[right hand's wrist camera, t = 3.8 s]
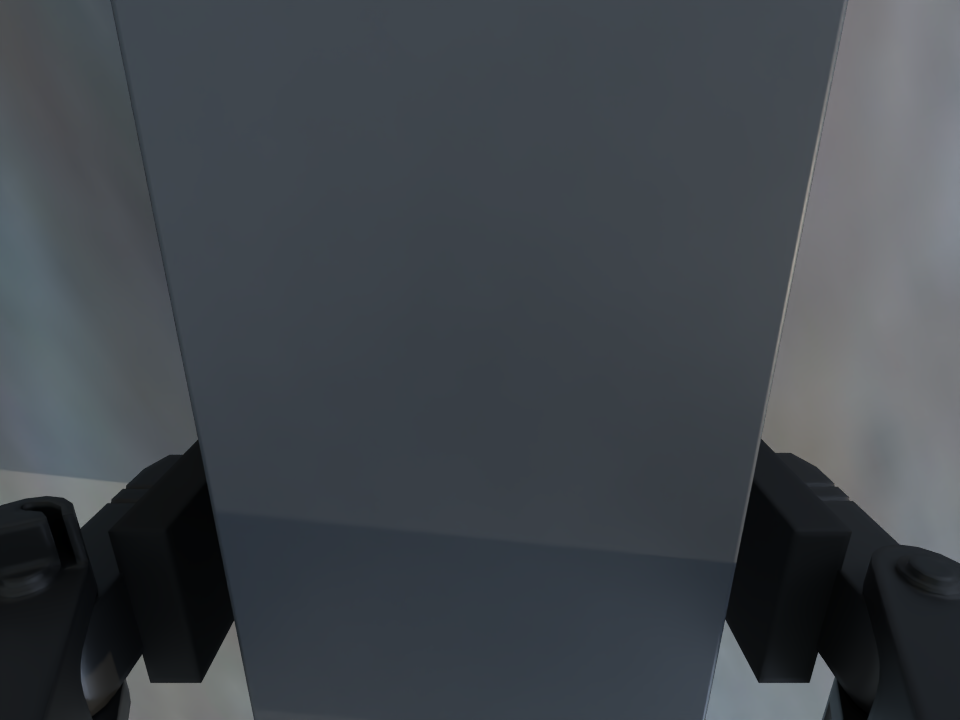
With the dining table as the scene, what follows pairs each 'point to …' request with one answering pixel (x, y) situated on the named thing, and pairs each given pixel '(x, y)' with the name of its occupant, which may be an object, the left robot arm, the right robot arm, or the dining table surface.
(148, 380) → the dining table surface
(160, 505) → the right robot arm
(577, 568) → the bar
